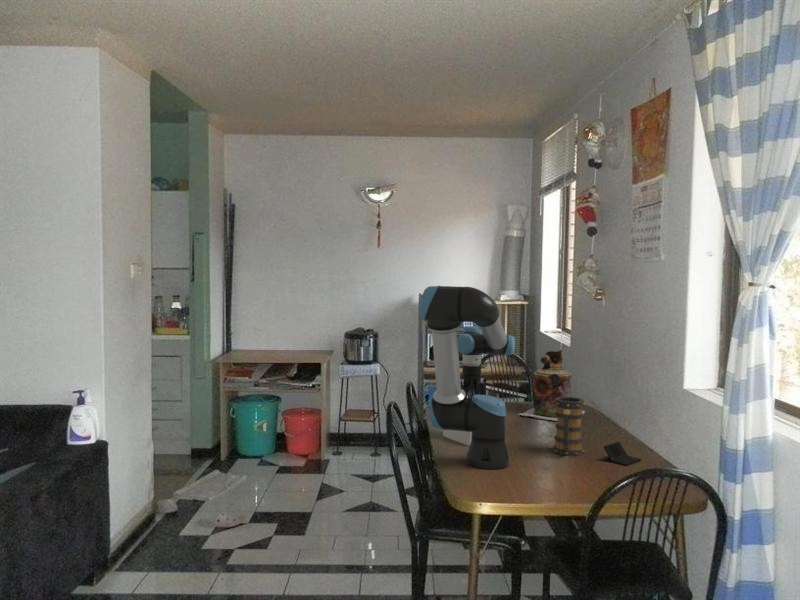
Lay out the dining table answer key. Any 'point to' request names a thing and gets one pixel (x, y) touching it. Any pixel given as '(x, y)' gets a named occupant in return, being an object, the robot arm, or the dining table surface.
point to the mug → (568, 426)
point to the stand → (459, 436)
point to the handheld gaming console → (619, 455)
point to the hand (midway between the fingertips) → (470, 421)
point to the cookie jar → (549, 386)
